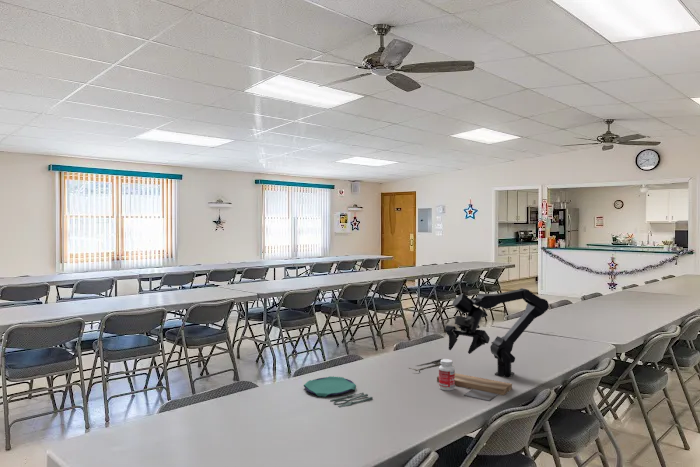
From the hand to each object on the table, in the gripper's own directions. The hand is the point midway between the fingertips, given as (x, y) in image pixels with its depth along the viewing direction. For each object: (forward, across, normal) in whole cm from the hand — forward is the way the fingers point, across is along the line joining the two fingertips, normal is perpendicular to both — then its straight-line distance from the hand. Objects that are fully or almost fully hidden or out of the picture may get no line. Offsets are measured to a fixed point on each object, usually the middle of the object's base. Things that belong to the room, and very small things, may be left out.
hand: (458, 351), depth 197 cm
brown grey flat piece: (+11, +6, +8) cm, 15 cm away
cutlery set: (+38, -29, -20) cm, 53 cm away
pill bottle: (+15, -1, +4) cm, 16 cm away
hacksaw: (+2, -24, +17) cm, 29 cm away
